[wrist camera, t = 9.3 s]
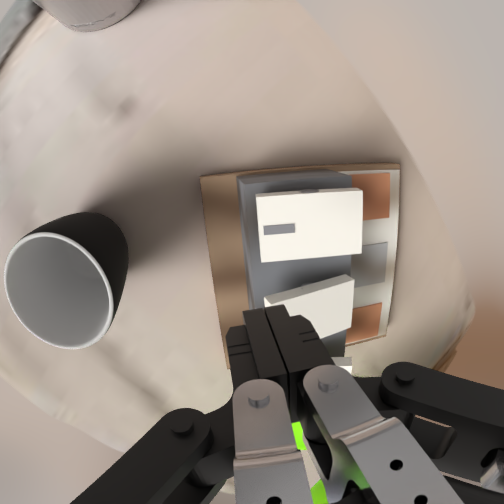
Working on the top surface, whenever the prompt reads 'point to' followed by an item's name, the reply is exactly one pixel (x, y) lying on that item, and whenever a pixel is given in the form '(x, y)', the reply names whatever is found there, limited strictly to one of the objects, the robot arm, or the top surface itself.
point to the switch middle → (320, 303)
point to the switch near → (309, 223)
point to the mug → (68, 279)
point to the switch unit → (311, 269)
